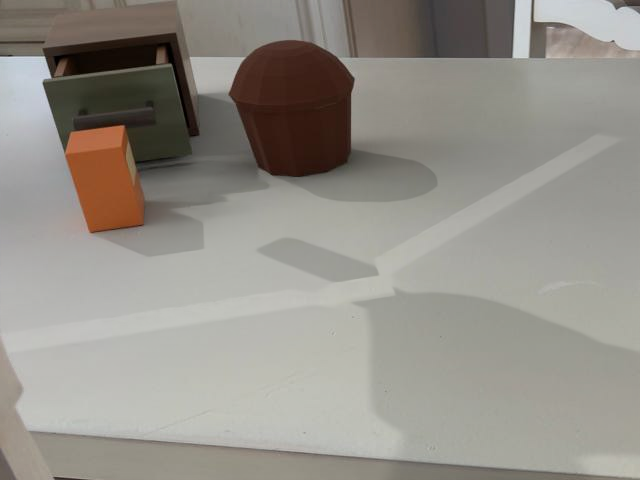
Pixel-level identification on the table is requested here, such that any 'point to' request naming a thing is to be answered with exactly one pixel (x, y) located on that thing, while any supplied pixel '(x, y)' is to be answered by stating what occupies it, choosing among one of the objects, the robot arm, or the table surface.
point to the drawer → (122, 98)
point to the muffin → (295, 107)
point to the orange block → (105, 178)
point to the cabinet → (127, 41)
